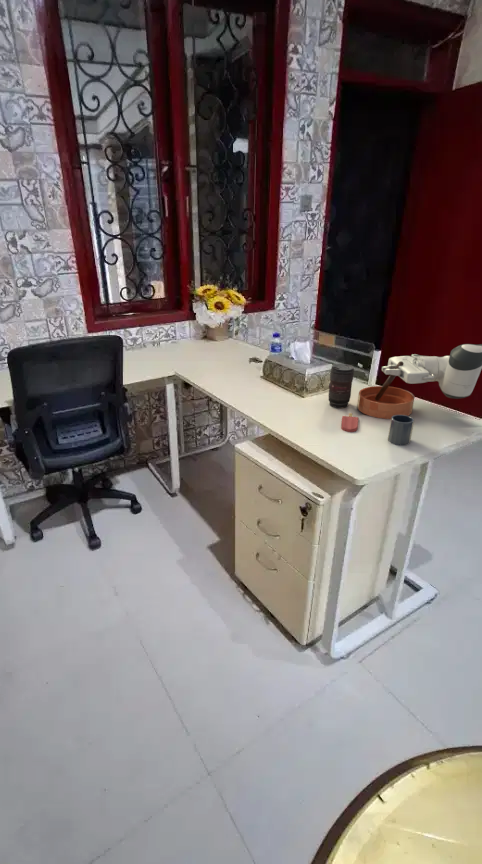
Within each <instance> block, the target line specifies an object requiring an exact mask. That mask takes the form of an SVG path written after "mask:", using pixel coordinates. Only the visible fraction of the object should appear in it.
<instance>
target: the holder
mask: <svg viewBox="0 0 482 864" xmlns="http://www.w3.org/2000/svg"><path fill="white" fill-rule="evenodd" d="M414 425H415V418H414V417H412V416H410V415H409V416H407V415H394V416H392V417H391V419H390V423H389V428H388V434H387V441H388V443H390V444H392V445H395V446H408V445H409V444H411V440H412V435H413V430H414Z"/></svg>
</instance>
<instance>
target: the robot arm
mask: <svg viewBox="0 0 482 864" xmlns="http://www.w3.org/2000/svg"><path fill="white" fill-rule="evenodd" d="M400 361H402V362H403V363H404V364H403V366H399V368H400V369H394V368H395V367H396V365H397V364H398V362H400ZM481 371H482V343H479V344H475V343H474V344H473V343H463V344H460V345H457V346H456V347H454V348H453V349H451V350H450V353H449V355H444V356H435V355H433V356H431V355H430V356H429V355H420V354H416V353H414V354H413V353H412V354H411V355H400V356H392V357H389V358H388V362H387V365H385V366H381V372H383V373H384V374H385V375H386V376H387V375H388V376H390V375H395V377H399V378H400V379H401V380H402V381H403V382H405V383H406V384H410V385H411V384H412V385H413V384H424V383H428V382H438V387H439V389H440V391H441V392H442V394H443V395H444V396H445V397H446V398H448V399H453V400H455V399H456V400H458V399H459V400H461V399H465V398H468V397H470V396H471V395H472V393H473V391H474V389H475V386H476V384H477V381H478V379H479V377H480V374H481Z"/></svg>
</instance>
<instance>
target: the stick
mask: <svg viewBox="0 0 482 864" xmlns="http://www.w3.org/2000/svg"><path fill="white" fill-rule="evenodd" d="M403 364H404V363H403V362H402V361H400V362H398V364H397V365H396V367H395V368H394V369H400V368H399V366H403ZM395 378H396V376H395V375H388V377H387V378H386V380H385V381H384V383H383V384H382V385H381V386H382V388H381V389H380V391H379V392H378V394H377V395H376V397H375V400H376V401H378V400H380V398H381V397H382V395H383V394H384V393H385V391H386V390H387V388H388V387H390V385H391V384H392V382H393V381H394V379H395Z"/></svg>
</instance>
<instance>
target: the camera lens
mask: <svg viewBox="0 0 482 864" xmlns="http://www.w3.org/2000/svg"><path fill="white" fill-rule="evenodd" d="M354 374H355V368H354V366H353V365H351V364H347V363H334V364H332V365H331V369H330V374H329V383H328V388H329V389H328V402H329V403H328V404H329V406H330V407H333V408H336V409H343V408H347V407H348V406H349V403H350V401H351V396H352V388H353V387H352V386H353V380H354Z"/></svg>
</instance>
